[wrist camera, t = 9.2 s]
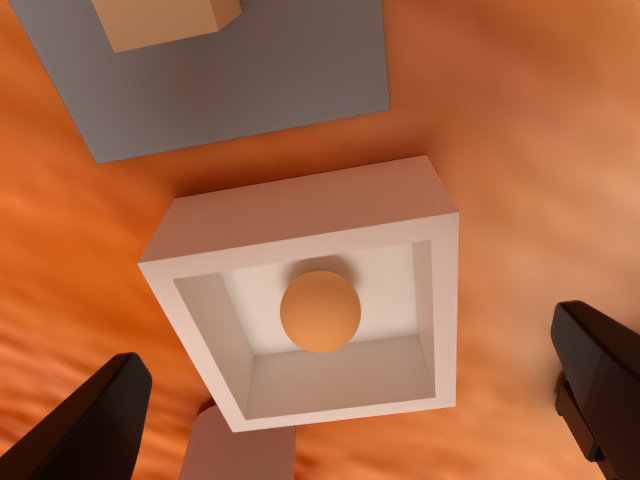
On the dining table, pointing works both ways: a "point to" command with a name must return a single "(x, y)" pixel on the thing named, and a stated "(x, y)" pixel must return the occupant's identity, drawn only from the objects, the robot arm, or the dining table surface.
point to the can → (237, 451)
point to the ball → (320, 311)
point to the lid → (206, 67)
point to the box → (306, 256)
